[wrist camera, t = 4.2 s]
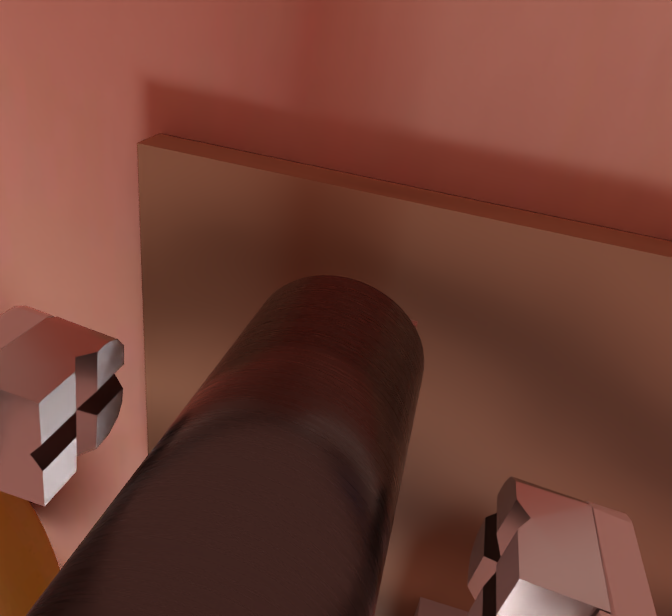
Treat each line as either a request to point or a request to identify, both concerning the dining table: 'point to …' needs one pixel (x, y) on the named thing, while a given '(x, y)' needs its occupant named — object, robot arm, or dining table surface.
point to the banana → (23, 556)
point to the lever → (267, 473)
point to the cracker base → (432, 340)
